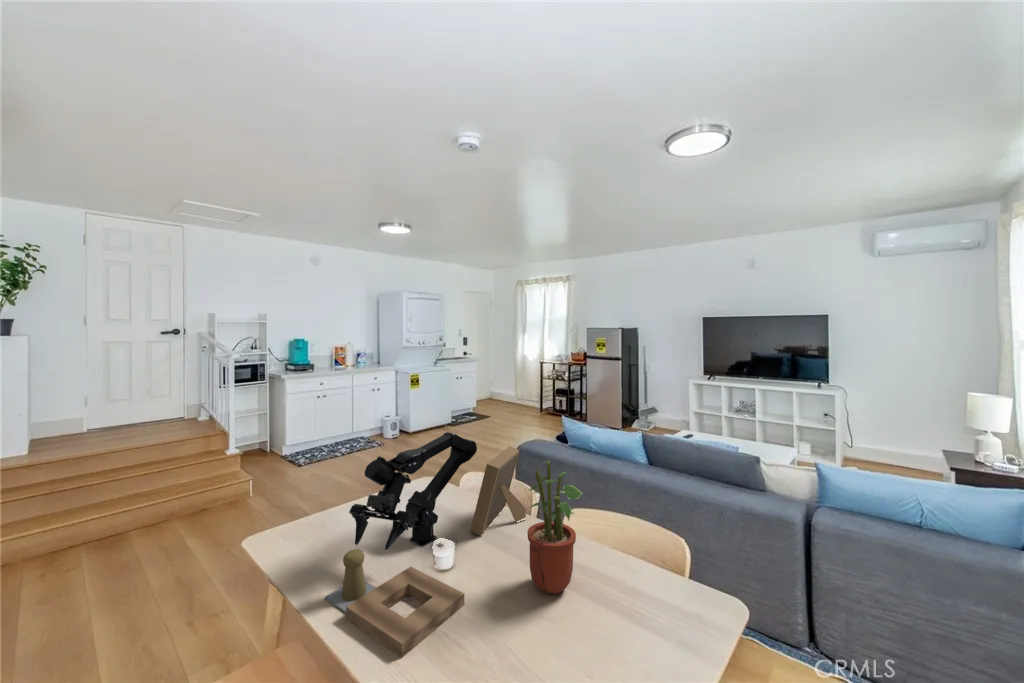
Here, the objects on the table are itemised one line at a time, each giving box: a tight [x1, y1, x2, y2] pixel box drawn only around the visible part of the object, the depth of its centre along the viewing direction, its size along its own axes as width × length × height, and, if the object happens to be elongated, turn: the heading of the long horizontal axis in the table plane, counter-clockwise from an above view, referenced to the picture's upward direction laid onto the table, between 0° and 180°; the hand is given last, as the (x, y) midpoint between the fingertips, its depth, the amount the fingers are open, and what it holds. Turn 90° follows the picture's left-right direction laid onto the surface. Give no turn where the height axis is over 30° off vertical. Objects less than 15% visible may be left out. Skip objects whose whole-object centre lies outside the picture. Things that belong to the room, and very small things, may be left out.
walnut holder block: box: [345, 566, 465, 658], centre depth 99 cm, size 20×20×3 cm
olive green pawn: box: [342, 548, 366, 601], centre depth 105 cm, size 6×6×11 cm
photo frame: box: [470, 445, 527, 536], centre depth 144 cm, size 15×22×25 cm
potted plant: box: [525, 460, 584, 595], centre depth 111 cm, size 17×16×35 cm
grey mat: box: [323, 580, 377, 614], centre depth 105 cm, size 10×10×1 cm
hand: (370, 547), depth 112 cm, fingers open, 9 cm apart
